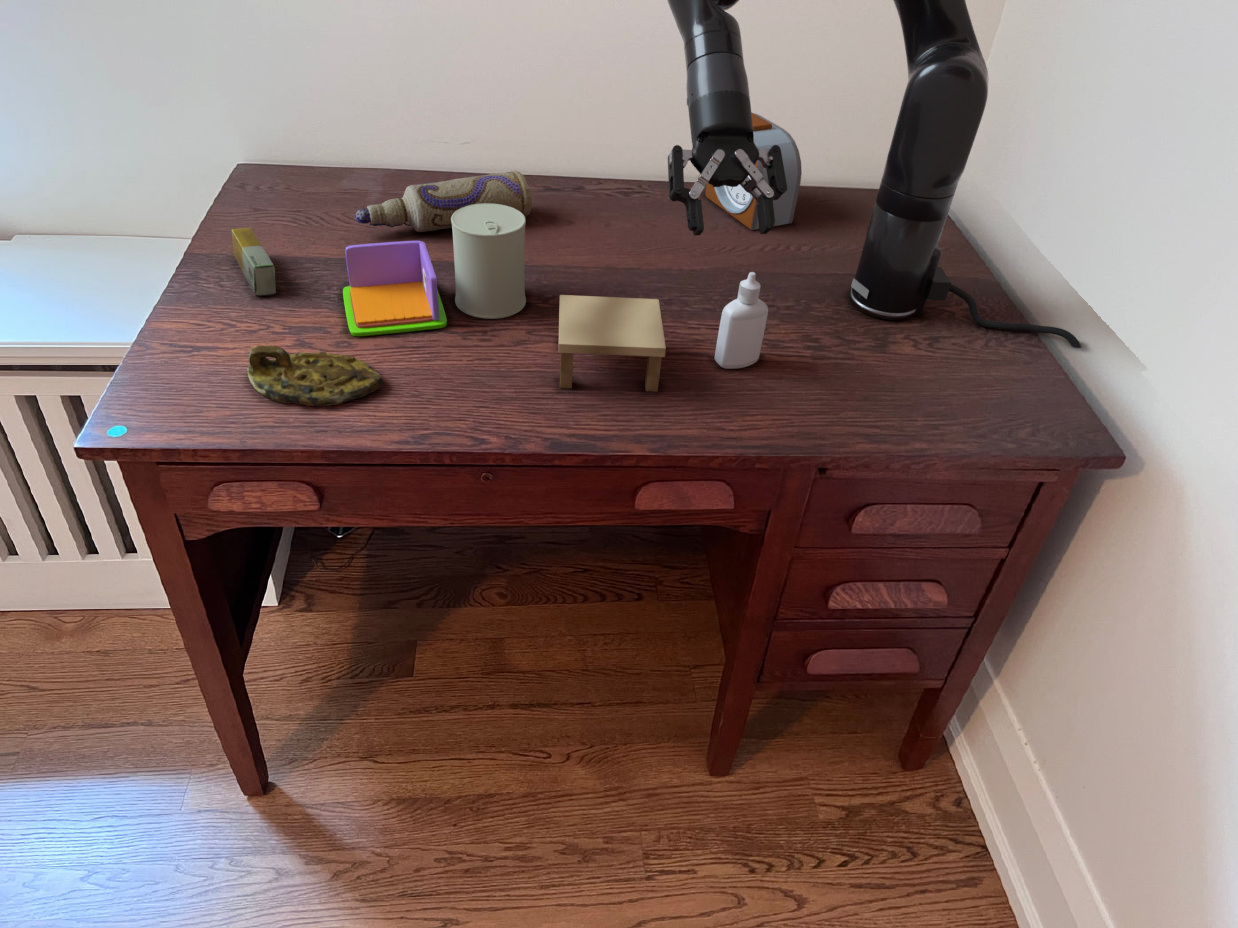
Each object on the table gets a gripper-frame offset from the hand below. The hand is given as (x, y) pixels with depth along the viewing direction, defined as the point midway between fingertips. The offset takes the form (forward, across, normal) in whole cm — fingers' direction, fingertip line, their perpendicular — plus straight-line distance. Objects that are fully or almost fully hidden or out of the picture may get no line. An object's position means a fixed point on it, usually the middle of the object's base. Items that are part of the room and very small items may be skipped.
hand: (732, 232), depth 107 cm
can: (+3, -28, +16) cm, 33 cm away
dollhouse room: (+4, -41, +16) cm, 44 cm away
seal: (+15, -50, +4) cm, 52 cm away
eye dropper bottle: (+15, 0, +4) cm, 16 cm away
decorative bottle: (-14, -32, +33) cm, 48 cm away
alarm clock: (-16, +16, +35) cm, 42 cm away
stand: (+14, -16, +4) cm, 22 cm away
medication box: (-3, -58, +23) cm, 63 cm away
